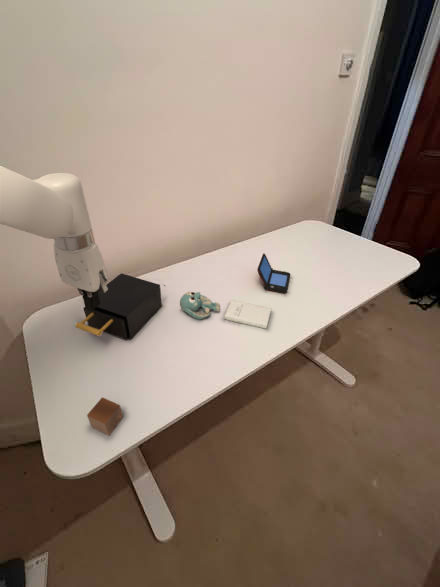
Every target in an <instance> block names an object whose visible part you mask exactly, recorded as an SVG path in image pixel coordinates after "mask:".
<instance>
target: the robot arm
mask: <svg viewBox="0 0 440 587" xmlns="http://www.w3.org/2000/svg"><path fill="white" fill-rule="evenodd" d="M0 225H3V226H7V227H10V228H13V229H15V230H19V231H21V232H26V233H28V234H32V235H35V236H38V237H41V238H44V239H47V240H53V241H54V243H53V256H54V260H55V264H56V267H57V272H58V275H59V278H60V281H61V282H62V283H64V284H65V285H68V286H70V287H74V288H76V289H77V291H78V294H79V295H80V296H82V300H83V304H84V307H86V309H90V310H94V309H95V308H96V307H97V306H98V305H99V304H100V299H99V295H98V292H99V293H105V292H106V291H108V288H107V286H106V285H107V284H108V283H109V277H108V271H107V268H106V263H105V261H104V258H103V256H102V252H101V251H100V247H99V246H98V244H97V243H96V240H95V236H94V230H93V226H92V222H91V218H90V215H89V210H88V206H87V202H86V197H85V193H84V189H83V186H82V182H81V180H80V179H79V177H78V176H77V175H75V174H73V173H69V172H54V173H48V174H47V173H46V174H45V175H42V176H41V177H39V178H36V179H31V178H29V177H27V176H25V175H22V174H20V173H18V172H16V171H13V170H12V169H9V168H7V167H4V166H2V165H0Z"/></svg>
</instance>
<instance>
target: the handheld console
mask: <svg viewBox="0 0 440 587" xmlns="http://www.w3.org/2000/svg"><path fill="white" fill-rule="evenodd" d="M257 273H258V276H259V277H260V279H261V281H262V283H263V286H264V288H263V289H264V291H270V292H275V293H280V294H286V293H288V290H289V284H290V279H291V273H290V272H289V271H283V270H276V269H274V268H273V267H272V266H271V263H270V262H269V259H268V257H267V254H266V253H262V256H261V258H260V261H259V264H258V265H257Z"/></svg>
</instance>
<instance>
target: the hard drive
mask: <svg viewBox="0 0 440 587" xmlns="http://www.w3.org/2000/svg"><path fill="white" fill-rule="evenodd" d="M271 313H272V308H271V307H267V306H262V305H257V304H252V303H247V302H242V301H238V300H230V303H229V305H228V306H227V310H226V312H225V314H224V320H225V321H227V320H228V321H230V322H235V323H240V324H244V325H248V326H252V327H257V328H260V329H265V330H266V329H267V328H268V324H269V320H270V316H271Z"/></svg>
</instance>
